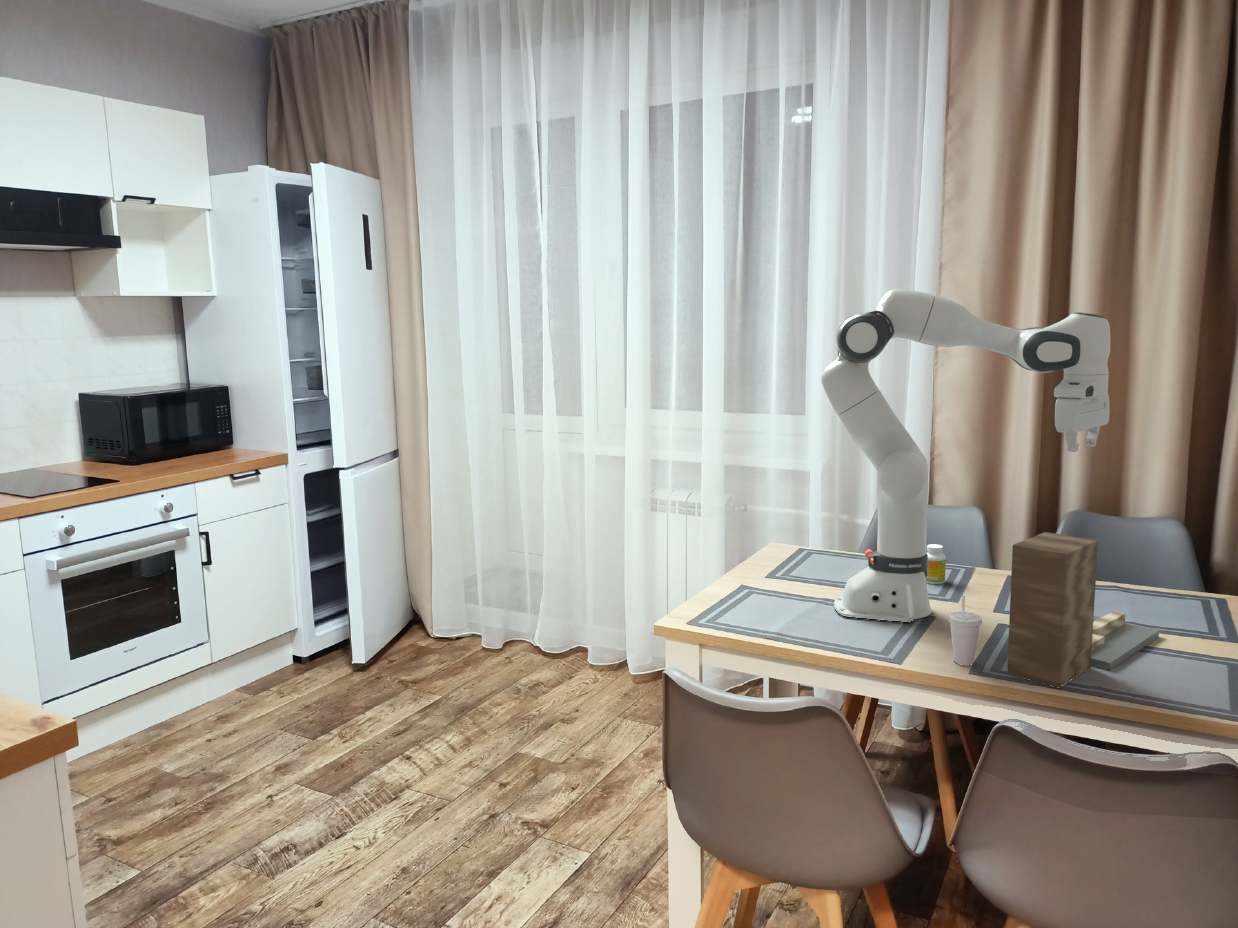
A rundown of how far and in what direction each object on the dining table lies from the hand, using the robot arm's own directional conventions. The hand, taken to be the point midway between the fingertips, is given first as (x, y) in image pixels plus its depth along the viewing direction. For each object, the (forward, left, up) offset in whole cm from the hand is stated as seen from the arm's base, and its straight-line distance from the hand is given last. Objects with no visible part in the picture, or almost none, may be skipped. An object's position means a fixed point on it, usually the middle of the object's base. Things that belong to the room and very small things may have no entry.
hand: (1081, 449), depth 199 cm
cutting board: (-1, -17, -39) cm, 42 cm away
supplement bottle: (-26, +26, -39) cm, 54 cm away
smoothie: (-30, -30, -39) cm, 58 cm away
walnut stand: (-15, -33, -39) cm, 53 cm away
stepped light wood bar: (-1, -16, -38) cm, 41 cm away
